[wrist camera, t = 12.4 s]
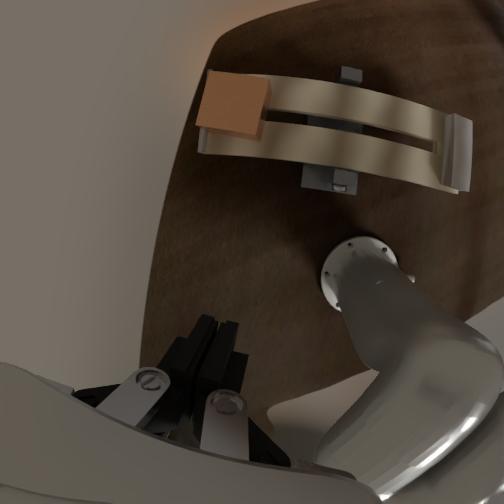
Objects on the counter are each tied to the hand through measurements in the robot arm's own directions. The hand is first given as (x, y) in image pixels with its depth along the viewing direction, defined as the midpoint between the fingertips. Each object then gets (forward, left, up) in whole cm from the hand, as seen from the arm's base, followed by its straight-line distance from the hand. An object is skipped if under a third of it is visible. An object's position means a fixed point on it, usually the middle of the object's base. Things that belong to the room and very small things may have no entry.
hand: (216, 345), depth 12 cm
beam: (-8, -15, -22) cm, 28 cm away
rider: (+4, -15, -22) cm, 27 cm away
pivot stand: (-8, -15, -30) cm, 34 cm away
